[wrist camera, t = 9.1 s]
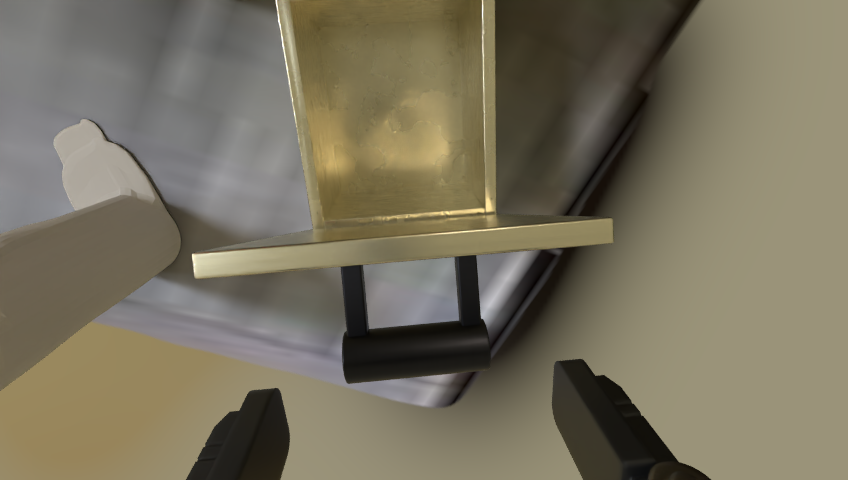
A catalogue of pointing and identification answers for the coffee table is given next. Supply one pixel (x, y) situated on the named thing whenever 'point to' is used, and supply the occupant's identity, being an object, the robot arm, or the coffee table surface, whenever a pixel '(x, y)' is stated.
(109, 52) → the coffee table surface
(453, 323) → the freezer lid
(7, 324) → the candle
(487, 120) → the gold open bin
